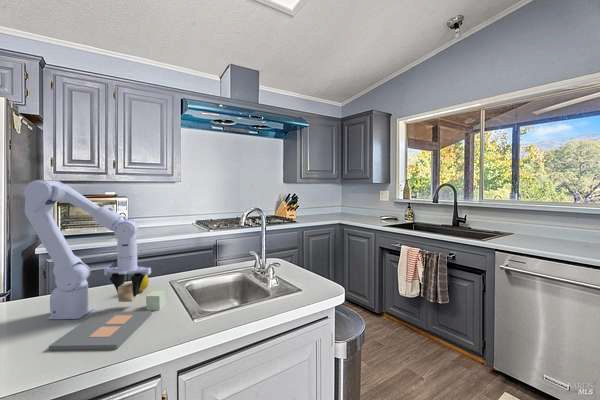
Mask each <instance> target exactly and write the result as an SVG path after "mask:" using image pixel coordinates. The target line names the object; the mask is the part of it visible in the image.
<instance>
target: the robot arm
mask: <svg viewBox="0 0 600 400" xmlns="http://www.w3.org/2000/svg"><path fill="white" fill-rule="evenodd" d="M22 193H23V196H24V197H25V198H24V215H25V216H26V218H27V220H28V221H29V223H30V225H31V226H32V228H33V230H34V231H35V233H36V235H37V237H38V238H39V240H40V242H41V243H42V245H43V247H44V249H45V250H46V252H47V254H48V255H49V258H50V259H51V260H52V263H53V264H54V265H53V269H52V274H53V275H54V278H55V280H54V282H55V283H54V284H55V285H56V288H54V289H53V290H52V292H51V293H50V296H49V307H50V308H49V310H50V311H49V312H50V316H49V317H48V320H76V319H77V320H79V319H81V318H82V317H84V316H86V315H87V314H88V313H90V312H91V311H93V310H94V309H96V306H95V305H93V306H91V305H90V303H89V302H90V301H89V299H90V297H89V282H88V281H87V279H89V277H90V275H91V268H90V267H89V266H88V264H86V263H84V262H83V261H82V259H81V257H78V256H77V255H75V254H74V252H73V250H72V249H71V247H70V245H69V243H68V241H67V239H66V238H65V236H64V235H63V233H62V231H61V229H60V227H59V226H58V224H57V222H56V221H55V219H54V217H53V215H52V213H51V211H52V209H53V207H54V206H55V204H56V203H57V202H67V203H68V204H71V205H72V206H74V207H77V208H79V209H81V210H82V211H84V212H85V213H87V214H90V215H91V216H92V219H93V221H94V222H96V223H97V224H99V225H100V226H103V228H106V229H107V230H109V231H110V232H113V233H114V236H115V237H116V238H117V239H116V240H117V241H116V242H117V243H116V245H117V248H116V249H117V266H115V267H106V268H104V269H103V271H104V272H103V275H104V276H108V275H111V276H110V277H109V280H110V282H112V285H113V286H114V288H115V290H116V292H117V294H118V287H119V286H121V285H122V284H124V283H125V278H126V275H131V277H130V281H131V283H132V284H133V295H134V296H136V295H138V294H139V293H140V291H139V289H140V285H141V283H142V280H143V278H144V276H145V275H147V276H149V275H151V274H152V267H146V266H145V267H144V266H138V242H137V233H138V230H139V225H138V223H137V222H136V221H135V220H134V219H131V218H128V216H126V215H124V216H123V215H121V213H118V212H117V211H115V207H112V206H110V207H108V206H99V205H97V204H96V203H94V202H93V201H91V200H90V199H88V198H87V197H86V196H85V195H83V194H82V193H80V192H78V191H77V190H76V189H74V188H72V187H71V186H69V184H68V185H67V184H65V183H63V182H61V181H60V180H57V179H50V180H43V179H37V180H32V181H31V182H29V183H28V184H27V186H26V188H25V189H24V190H23V192H22Z"/></svg>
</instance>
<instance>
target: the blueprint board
mask: <svg viewBox="0 0 600 400" xmlns="http://www.w3.org/2000/svg"><path fill="white" fill-rule="evenodd" d="M151 316H152V310H145V311H144V310H143V311H141V310H140V311H139V310H138V311H134V310H132V311H131V310H128V311H96V312H95V313H94V314H93V315H91V316H89V317H88V318H87V319H85V320H84V321H82V322H81V323H79V324H78V325H76V326H75V327H74V328H73V329H71V330H69V331H68V332H67V333H65V334H63V336H61V337H59V338H58V339H57V340H55V341H54V342H52V343H51V344H49V346H48V351H79V350H80V351H89V350H96V351H97V350H118V349H119V348H120V347H121V346H122V345H123V344H124V343H125V342H126V341H127V340H128V339H129V338H130V337H131V336H132V335H133V334H134V333H135V332H136V331H137V330H138V329H139V328H140V327H141V326H142V325H143V324H144V323H145V322H146V321H147V320H148V319H149V318H150V317H151Z"/></svg>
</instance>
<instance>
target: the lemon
mask: <svg viewBox="0 0 600 400" xmlns="http://www.w3.org/2000/svg"><path fill="white" fill-rule="evenodd" d="M149 279H150V278H149V275H145V276H144V278H143V280H142V283H141V285H140V289H139V293H142V292H143V291H145V290H147V288H148V286H149V281H150V280H149Z"/></svg>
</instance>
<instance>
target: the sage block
mask: <svg viewBox="0 0 600 400" xmlns="http://www.w3.org/2000/svg"><path fill="white" fill-rule="evenodd" d="M145 303H146V304H145V305H146V306H145V307H146V310H145V311H161V310H162V309H163V307H164V306H166V290H152V291H150V292H149V293H148V294H147V295H145Z"/></svg>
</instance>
